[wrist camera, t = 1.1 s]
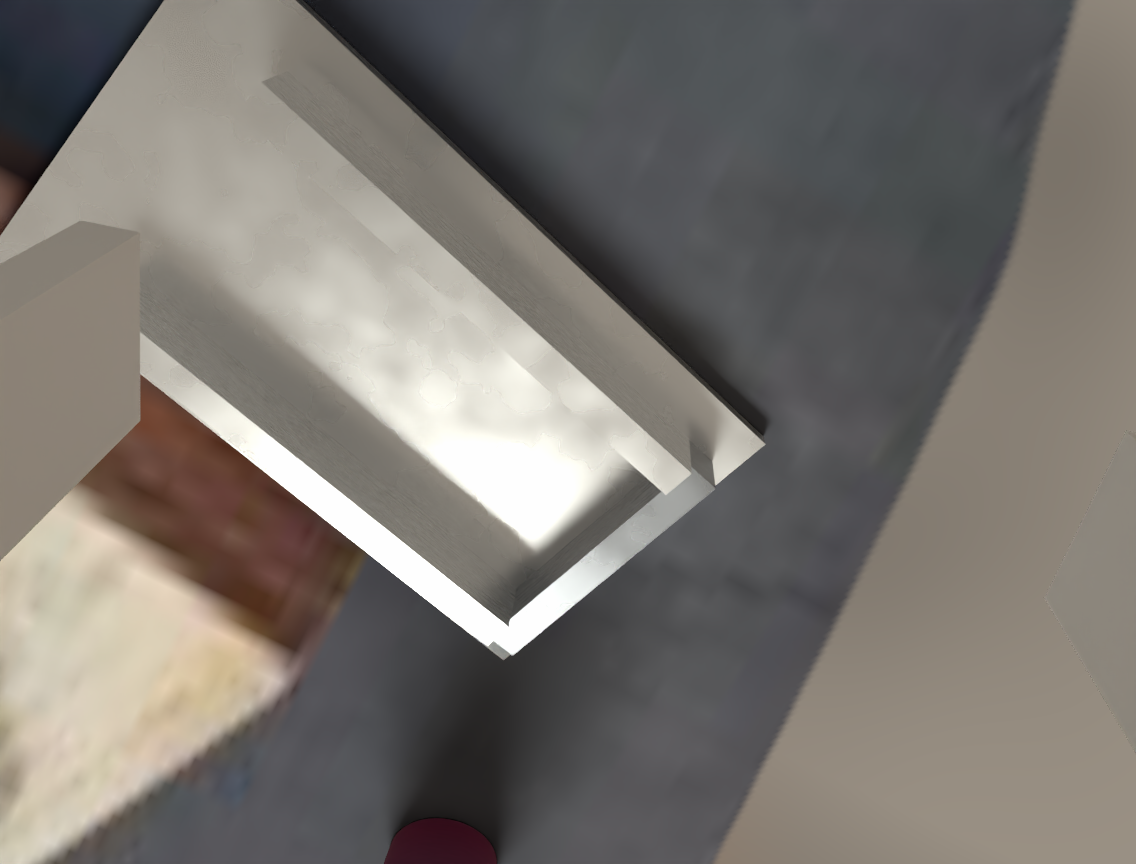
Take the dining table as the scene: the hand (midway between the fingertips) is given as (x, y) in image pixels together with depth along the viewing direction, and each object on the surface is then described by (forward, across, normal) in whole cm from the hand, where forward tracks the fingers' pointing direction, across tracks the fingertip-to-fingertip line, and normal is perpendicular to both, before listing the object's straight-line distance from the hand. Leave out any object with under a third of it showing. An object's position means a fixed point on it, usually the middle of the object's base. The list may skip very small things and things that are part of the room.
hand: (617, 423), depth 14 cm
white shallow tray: (+21, -7, -9) cm, 24 cm away
